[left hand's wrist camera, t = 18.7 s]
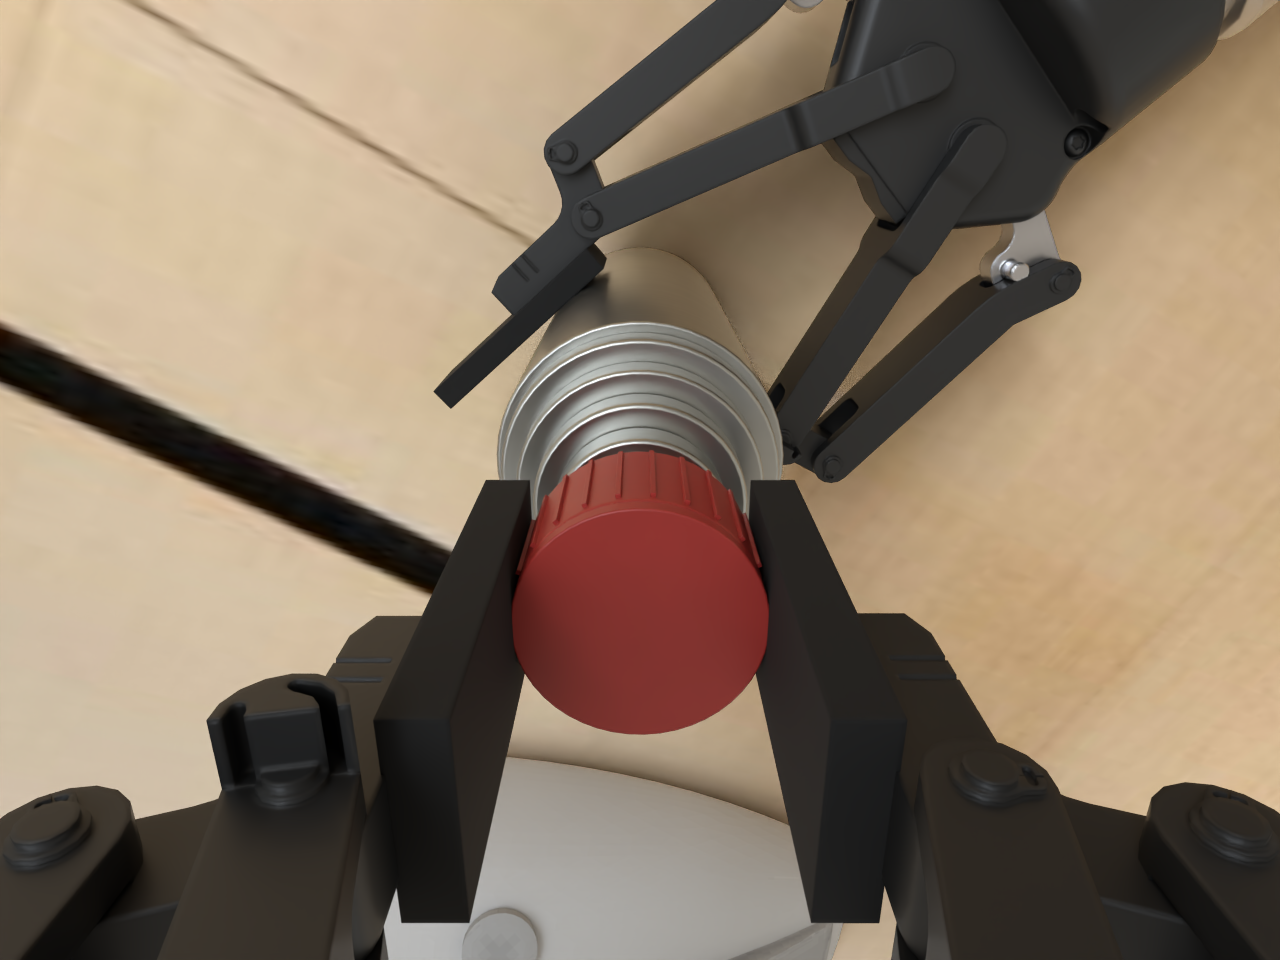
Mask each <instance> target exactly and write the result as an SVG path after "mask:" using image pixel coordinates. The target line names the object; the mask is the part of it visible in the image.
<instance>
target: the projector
mask: <svg viewBox="0 0 1280 960" xmlns="http://www.w3.org/2000/svg"><path fill="white" fill-rule="evenodd" d="M842 926H843V923H811V921H810V916H809V912H808V907H807V903H806V898H805V894H804V889H803V885H802V880H801V876H800V871H799V866H798V862H797V857H796V853H795V848H794V844H793V839H792V835H791V830H790V826H789V825H787V824H785V823H782V822H780V821H777V820H775V819H772V818H770V817H767V816H765V815H762V814H760V813H757V812H754V811H751V810H748V809H745V808H743V807H740V806H737V805H734V804H731V803H728V802H725V801H722V800H719V799H716V798H713V797H709V796H706V795H703V794H700V793H696V792H693V791H690V790H686V789H682V788H678V787H674V786H671V785H667V784H663V783H659V782H655V781H651V780H646V779H642V778H637V777H633V776H628V775H624V774H619V773H614V772H608V771H603V770H597V769H592V768H586V767H581V766H574V765H567V764H561V763H554V762H547V761H539V760H530V759H522V758H513V757H506V760H505V765H504V769H503V774H502V779H501V783H500V788H499V792H498V797H497V801H496V806H495V810H494V815H493V819H492V824H491V828H490V833H489V837H488V842H487V846H486V851H485V855H484V860H483V864H482V869H481V873H480V878H479V882H478V887H477V892H476V896H475V901H474V905H473V910H472V914H471V919H470V923H401V917H400V910H399V903H398V896H397V888H396V891H395V894H394V897H393V900H392V903H391V906H390V909H389V912H388V915H387V918H386V921H385V924H384V931H385V938H386V945H387V951H388V958H389V960H832V957H833V954H834V951H835V949H836V946H837V943H838V940H839V936H840V933H841V929H842Z"/></svg>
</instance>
